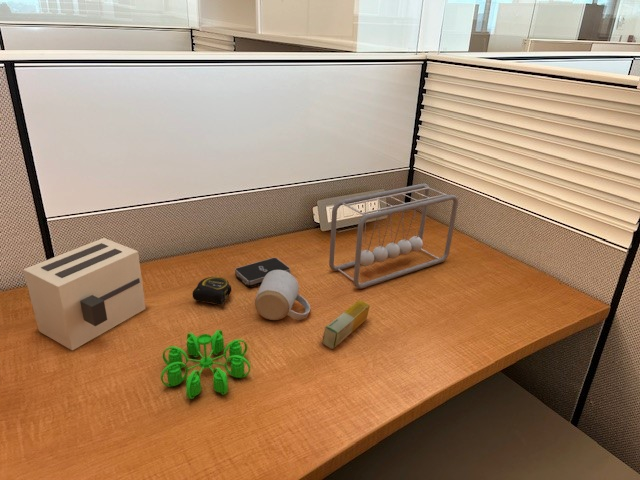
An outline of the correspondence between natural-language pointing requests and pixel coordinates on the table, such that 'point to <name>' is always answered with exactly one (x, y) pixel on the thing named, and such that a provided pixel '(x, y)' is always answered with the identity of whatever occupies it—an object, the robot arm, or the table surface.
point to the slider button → (93, 310)
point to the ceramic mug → (279, 296)
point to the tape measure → (212, 290)
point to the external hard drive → (259, 271)
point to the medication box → (345, 324)
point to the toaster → (85, 290)
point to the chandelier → (205, 363)
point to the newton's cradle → (391, 248)
